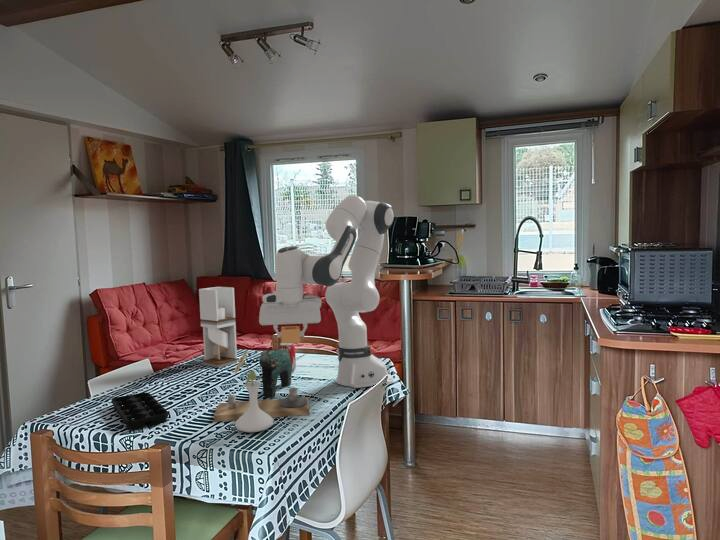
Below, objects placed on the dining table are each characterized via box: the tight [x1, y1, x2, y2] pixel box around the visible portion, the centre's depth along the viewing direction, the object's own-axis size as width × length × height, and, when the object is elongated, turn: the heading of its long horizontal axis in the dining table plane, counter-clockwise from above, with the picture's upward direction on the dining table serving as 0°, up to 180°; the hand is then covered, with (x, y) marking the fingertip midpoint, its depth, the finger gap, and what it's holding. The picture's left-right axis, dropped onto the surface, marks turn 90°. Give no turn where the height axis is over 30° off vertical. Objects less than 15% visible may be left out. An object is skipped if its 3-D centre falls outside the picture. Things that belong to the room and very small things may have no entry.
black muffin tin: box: [110, 392, 169, 431], centre depth 170 cm, size 18×30×4 cm, turn 47°
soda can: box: [279, 342, 297, 373], centre depth 220 cm, size 7×7×12 cm
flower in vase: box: [233, 349, 275, 433], centre depth 153 cm, size 13×11×25 cm
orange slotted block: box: [280, 325, 301, 344], centre depth 169 cm, size 6×6×4 cm
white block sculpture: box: [198, 286, 238, 369], centre depth 236 cm, size 11×11×35 cm
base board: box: [213, 387, 310, 422], centre depth 170 cm, size 30×12×7 cm, turn 98°
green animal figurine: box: [259, 339, 293, 399], centre depth 191 cm, size 20×6×20 cm, turn 163°
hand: (290, 337), depth 169 cm, fingers closed on orange slotted block, 6 cm apart
